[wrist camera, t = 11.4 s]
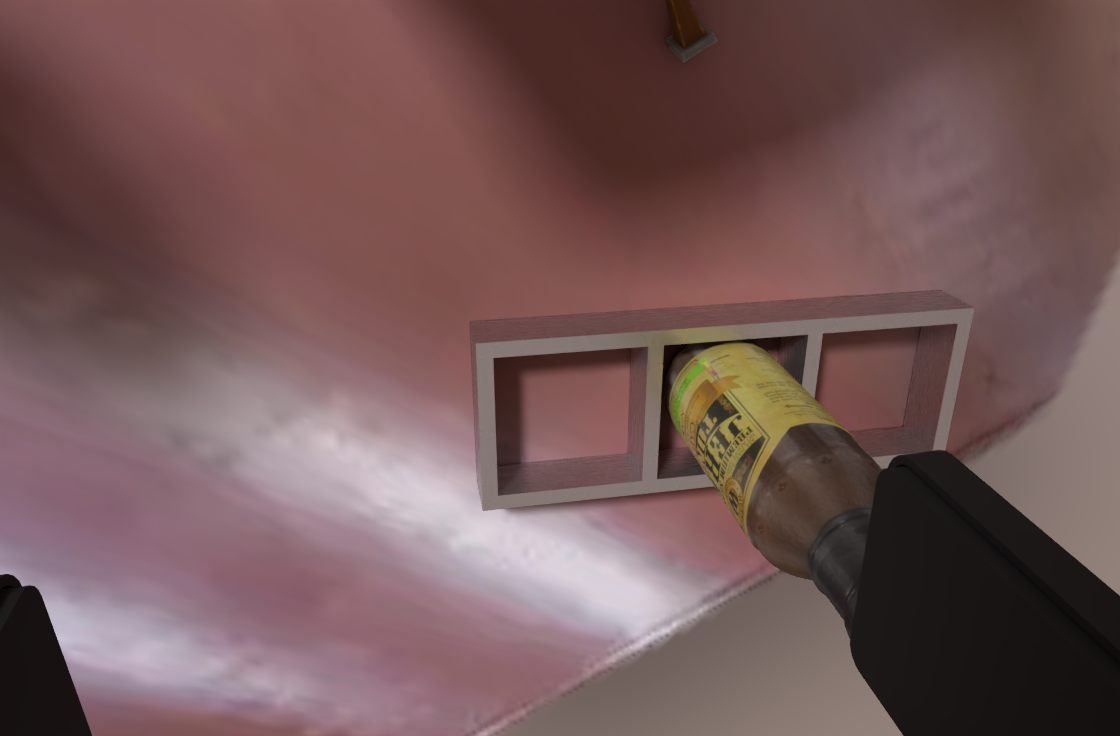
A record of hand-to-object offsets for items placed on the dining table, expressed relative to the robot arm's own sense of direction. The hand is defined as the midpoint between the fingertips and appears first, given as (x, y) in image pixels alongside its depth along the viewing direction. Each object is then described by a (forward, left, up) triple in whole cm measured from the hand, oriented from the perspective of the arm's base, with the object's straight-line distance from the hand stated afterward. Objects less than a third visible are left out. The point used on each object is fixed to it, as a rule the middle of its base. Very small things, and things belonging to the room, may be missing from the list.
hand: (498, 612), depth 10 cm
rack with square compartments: (+13, +15, -32) cm, 38 cm away
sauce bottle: (+13, +15, -32) cm, 38 cm away
